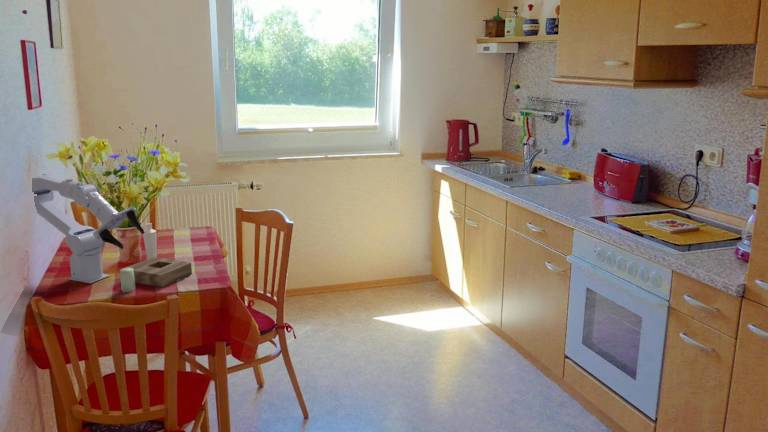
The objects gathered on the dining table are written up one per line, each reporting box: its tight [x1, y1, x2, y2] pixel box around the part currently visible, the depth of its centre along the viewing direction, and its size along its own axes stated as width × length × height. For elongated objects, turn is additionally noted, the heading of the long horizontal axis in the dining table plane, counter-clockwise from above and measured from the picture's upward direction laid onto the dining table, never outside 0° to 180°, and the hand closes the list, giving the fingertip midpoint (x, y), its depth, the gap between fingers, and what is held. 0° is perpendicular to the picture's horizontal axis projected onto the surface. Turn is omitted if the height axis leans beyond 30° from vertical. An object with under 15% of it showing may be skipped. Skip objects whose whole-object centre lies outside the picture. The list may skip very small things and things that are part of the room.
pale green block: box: [119, 267, 136, 293], centre depth 198 cm, size 4×4×6 cm
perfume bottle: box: [142, 222, 158, 260], centre depth 221 cm, size 5×4×15 cm
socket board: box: [122, 256, 193, 288], centre depth 210 cm, size 16×14×4 cm
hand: (132, 239), depth 196 cm, fingers open, 7 cm apart
